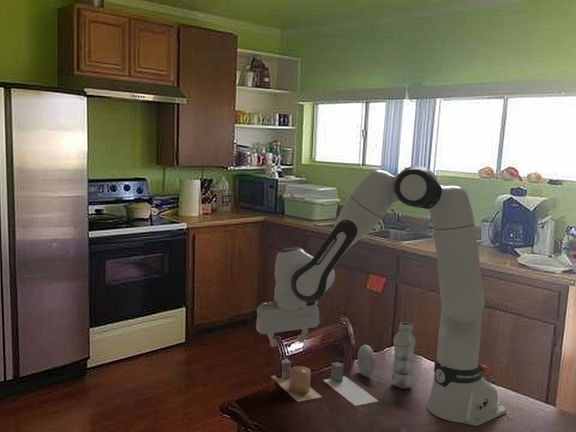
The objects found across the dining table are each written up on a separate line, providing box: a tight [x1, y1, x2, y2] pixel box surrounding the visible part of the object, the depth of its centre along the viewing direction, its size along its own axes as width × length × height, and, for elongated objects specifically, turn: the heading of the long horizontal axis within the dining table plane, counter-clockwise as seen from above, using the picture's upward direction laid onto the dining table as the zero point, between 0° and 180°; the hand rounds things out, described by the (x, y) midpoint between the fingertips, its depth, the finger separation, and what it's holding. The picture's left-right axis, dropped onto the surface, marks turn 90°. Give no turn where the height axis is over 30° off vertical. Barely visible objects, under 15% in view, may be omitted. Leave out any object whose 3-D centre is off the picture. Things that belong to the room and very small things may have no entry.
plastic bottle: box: [390, 321, 416, 390], centre depth 168 cm, size 6×7×20 cm
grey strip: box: [322, 361, 379, 407], centre depth 162 cm, size 8×18×6 cm, turn 26°
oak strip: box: [270, 358, 323, 403], centre depth 163 cm, size 8×18×6 cm, turn 26°
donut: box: [357, 344, 376, 378], centre depth 175 cm, size 10×3×10 cm, turn 10°
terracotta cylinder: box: [289, 365, 312, 394], centre depth 160 cm, size 6×6×6 cm
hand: (287, 343), depth 168 cm, fingers open, 8 cm apart
